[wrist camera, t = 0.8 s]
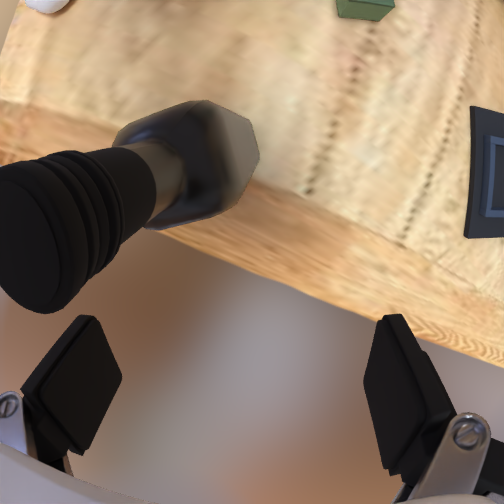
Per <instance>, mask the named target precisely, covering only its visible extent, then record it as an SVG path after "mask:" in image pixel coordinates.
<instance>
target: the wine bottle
mask: <svg viewBox="0 0 504 504" xmlns="http://www.w3.org/2000/svg"><path fill="white" fill-rule="evenodd" d="M259 159H260V153H259V150H258V146H257V142H256V138H255V135H254V131H253V127H252V124H251V122H250V121H249V120H248V119H246V118H244V117H242V116H240V115H238V114H236V113H234V112H232V111H230V110H228V109H226V108H224V107H222V106H220V105H217V104H215V103H213V102H211V101H209V100H197V101H188V102H185V103H181V104H178V105H176V106H173V107H170V108H167V109H164V110H162V111H159V112H156V113H154V114H151V115H149V116H146V117H144V118H141V119H139V120H136V121H134V122H131V123H129V124H128V125H126V126H125V127H124V128H123V129H121V130H120V131H119V132H118V133H117V136H116V138H115V140H114V142H113V144H112V147H111V148H106V149H101V150H96V151H91V152H87V153H82V152H79V151H75V150H68V151H61V152H56V153H52V154H49V155H47V156H45V157H42V158H39V159H37V160H29V161H19V162H15V163H12V164H8V165H5V166H2V167H0V286H1V287H2V288H3V290H4V291H5V292H6V293H7V294H8V295H9V296H10V297H11V298H12V299H13V300H14V301H16V302H17V303H18V304H19V305H21V306H23V307H24V308H26V309H28V310H31V311H33V312H36V313H41V314H50V313H54V312H56V311H59V310H61V309H63V308H64V307H65V306H66V305H67V304H68V303H69V302H70V301H71V300H72V299H73V298H74V297H75V296H76V295H77V293H78V292H79V291H80V289H81V288H82V287H83V286H84V285H85V283H86V282H87V281H88V280H89V279H91V278H92V277H93V276H94V275H95V274H97V273H99V272H100V271H101V270H102V269H103V268H104V267H106V266H107V265H108V264H109V263H110V262H111V261H112V260H113V258H114V257H115V255H116V254H117V252H118V250H119V247H120V245H121V244H122V243H123V242H125V241H126V240H127V239H128V238H129V237H130V236H132V235H133V234H134V233H136V232H137V231H138V230H139V229H140V228H142V227H144V228H146V229H150V230H163V229H167V228H171V227H175V226H179V225H183V224H187V223H191V222H195V221H199V220H203V219H207V218H211V217H214V216H216V215H218V214H221V213H223V212H224V211H226V210H228V209H230V208H232V207H233V206H235V205H236V204H237V203H238V201H239V199H240V198H241V196H242V194H243V192H244V190H245V188H246V186H247V184H248V182H249V180H250V178H251V176H252V173H253V171H254V169H255V167H256V165H257V163H258V161H259Z"/></svg>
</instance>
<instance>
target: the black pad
mask: <svg viewBox="0 0 504 504" xmlns="http://www.w3.org/2000/svg"><path fill="white" fill-rule="evenodd" d="M470 117H471V168H470V185H469V197H468V207H467V215H466V223H465V230H464V236H465V237H466V238H468V239H471V238H497V237H504V114H502V113H499V112H495V111H492V110H488V109H484V108H480V107H476V106H470Z"/></svg>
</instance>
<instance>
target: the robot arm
mask: <svg viewBox="0 0 504 504" xmlns="http://www.w3.org/2000/svg"><path fill="white" fill-rule="evenodd" d="M121 381H122V373H121V371H120V369H119V367H118V364H117V362H116V360H115V358H114V355H113V353H112V351H111V348H110V346H109V344H108V342H107V339H106V336H105V334H104V332H103V329H102V327H101V324H100V322H99V321H98V320H97V319H96V318H95V317H94V316H91V315H79V316H77V318H76V319H75V320H74V321H73V322H72V323H71V325H70V326H69V327H68V328H67V330H66V331H65V332H64V333H63V334H62V335H61V337H60V338H59V339H58V340H57V341H56V343H55V344H54V345H53V346H52V348H51V349H50V350H49V352H48V353H47V354H46V355H45V357H44V358H43V359H42V360H41V362H40V363H39V365H38V366H37V367H36V368H35V370H34V371H33V372H32V374H31V375H30V376H29V378H28V379H27V380H26V382H25V383H24V384H23V386H22V387H21V388H20V390H21V391H22V393H23V394H24V397H23V398H22V397H21V396H20V394H19V393H17V392H15V391H8V392H5V393H3V394H1V395H0V504H156V503H152V502H148V501H144V500H140V499H136V498H133V497H129V496H126V495H123V494H119V493H116V492H113V491H110V490H107V489H104V488H101V487H98V486H96V485H93V484H90V483H88V482H85V481H82V480H80V479H77V478H75V477H74V476H73V473H72V470H71V466H70V463H69V460H68V456H67V451H68V449H69V450H70V451H71V452H73V453H76V454H79V455H81V456H83V454H84V452H85V450H87V449H89V447H90V445H91V443H92V441H93V439H94V437H95V434H96V432H97V430H98V428H99V426H100V424H101V422H102V420H103V418H104V416H105V414H106V411H107V410H108V407H109V405H110V403H111V401H112V399H113V397H114V395H115V393H116V391H117V389H118V387H119V385H120V383H121ZM363 384H364V390H365V394H366V397H367V401H368V405H369V409H370V413H371V417H372V421H373V425H374V429H375V434H376V438H377V442H378V447H379V451H380V455H381V461H382V465H383V468H384V469H388V470H389V474H390V476H393V475H397V474H401V478H402V482H404V483H403V485H402V487H401V488H400V490H399V491H398V493H397V495H396V496H395V498H394V499H393V501H392V502H391V504H504V443H503V442H500V441H498V440H495V439H493V438H491V431H490V427H489V425H488V423H487V421H486V420H484V418H482V417H481V416H479V415H477V414H475V413H469V412H468V413H461V414H459V415H457V413H456V411H455V409H454V407H453V404H452V402H451V400H450V398H449V396H448V394H447V392H446V390H445V387H444V385H443V384H442V382H441V379H440V377H439V375H438V373H437V371H436V369H435V368H434V366H433V364H432V362H431V360H430V358H429V356H428V355H427V353H426V352H425V351H422V350H421V348H420V346H419V344H418V343H417V341H416V338H415V337H414V335H413V333H412V331H411V329H410V328H409V326H408V324H407V322H406V320H405V319H404V317H403V315H402V314H391V315H384V316H383V318H382V320H378V322H377V325H376V330H375V334H374V339H373V343H372V347H371V351H370V356H369V360H368V363H367V368H366V371H365V375H364V380H363Z"/></svg>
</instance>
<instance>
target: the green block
mask: <svg viewBox="0 0 504 504" xmlns="http://www.w3.org/2000/svg"><path fill="white" fill-rule="evenodd" d="M336 3H337V8H338V14H339V17H345V18H355V19H364V20H372V21H380V20H381V19H382V18H383V17H384V16H385V15H386V14H387V13H389V12H390V11H391V10H392V9H393V8H394V7H395V4H394V0H336Z"/></svg>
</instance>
